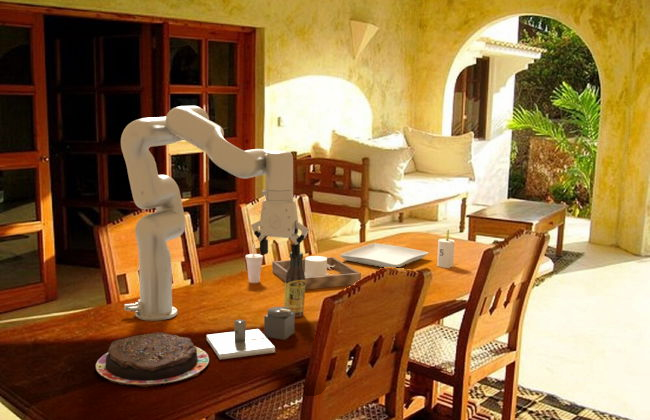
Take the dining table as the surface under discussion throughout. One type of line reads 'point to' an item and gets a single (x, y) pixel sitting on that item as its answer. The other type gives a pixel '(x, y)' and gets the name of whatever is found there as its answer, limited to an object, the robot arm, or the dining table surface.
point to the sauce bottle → (295, 286)
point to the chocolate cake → (151, 360)
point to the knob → (279, 323)
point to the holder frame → (345, 278)
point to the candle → (445, 252)
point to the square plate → (383, 255)
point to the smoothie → (254, 266)
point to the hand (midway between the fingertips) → (279, 255)
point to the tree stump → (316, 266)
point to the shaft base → (240, 342)
